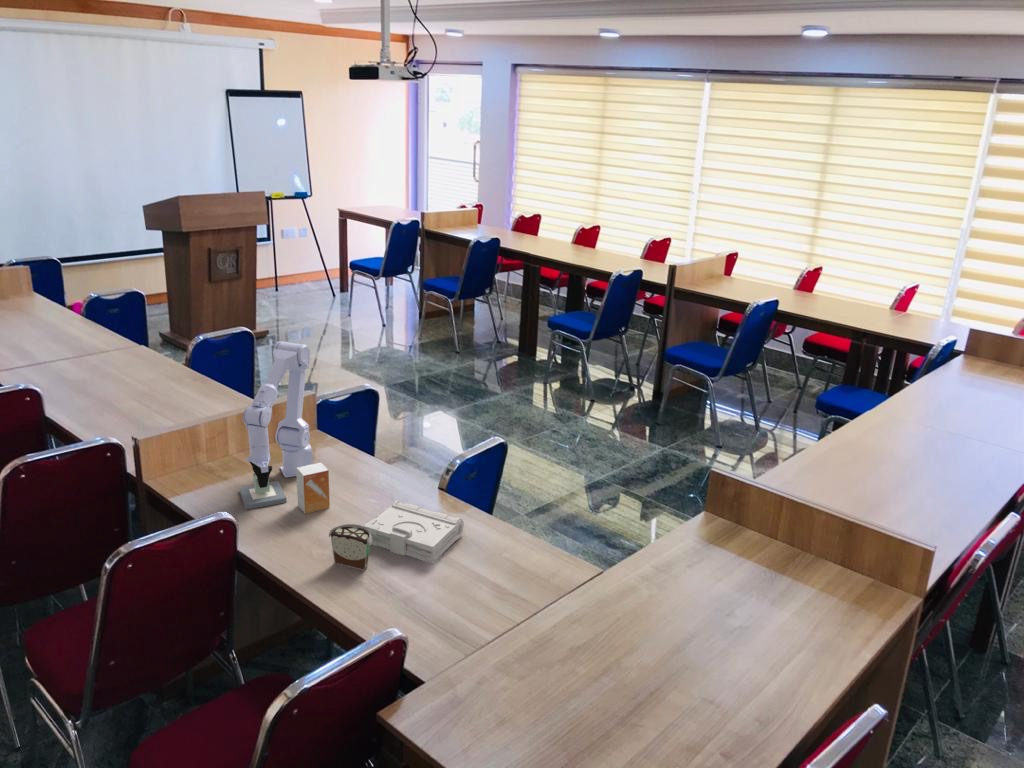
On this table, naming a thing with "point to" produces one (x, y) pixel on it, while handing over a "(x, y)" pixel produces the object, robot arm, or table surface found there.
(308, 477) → the small box
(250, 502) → the slate base
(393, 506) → the book
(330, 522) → the table surface
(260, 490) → the sage block
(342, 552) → the food container
